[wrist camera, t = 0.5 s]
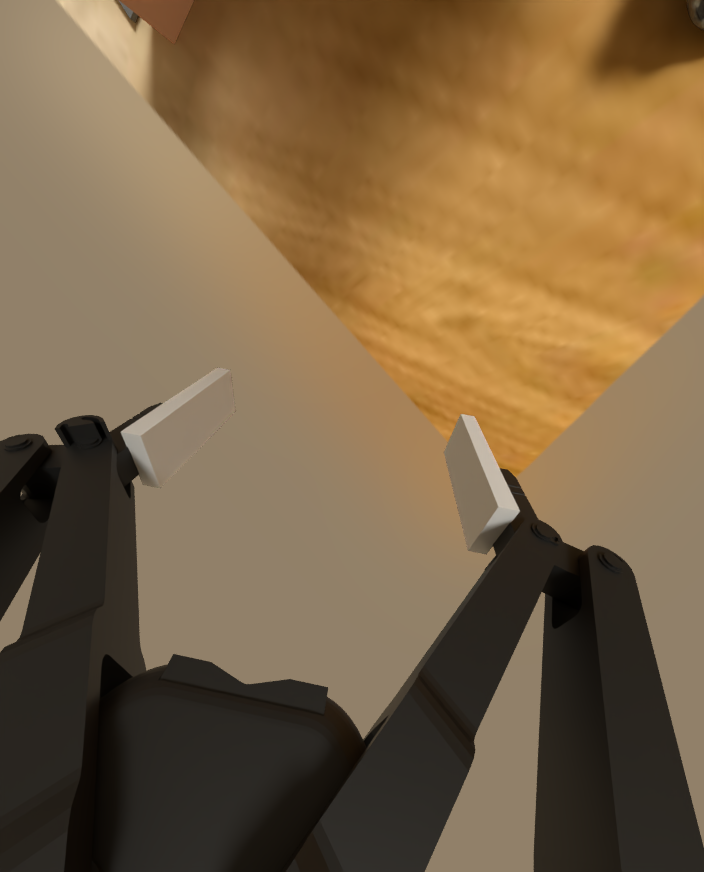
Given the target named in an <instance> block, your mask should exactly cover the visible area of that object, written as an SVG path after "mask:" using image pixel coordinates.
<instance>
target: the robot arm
mask: <svg viewBox="0 0 704 872" xmlns="http://www.w3.org/2000/svg"><path fill="white" fill-rule="evenodd" d="M235 412H236V410H235V402H234V394H233V386H232V377H231V370H229V369H224V368H218V367H217V368H216V369H214V370H213V371H211V372H210V373H208V374H207V375H205V376H204V377H202V378H201V379H199V380H198V381H196V382H195V383H193V384H192V385H190V386H189V387H187V388H186V389H184V390H183V391H181V392H180V393H178V394H177V395H175V396H174V397H172V398H171V399H169V400H168V401H166V402H165V403H159V404H156V405H154V406H151V407H148V408H147V409H145V410H144V411H142V412H141V413H140V414H137V415H136V416H134V417H133V419H130V420H128V421H126V422H125V423H123V424H122V425H120V426H119V427H117V428H115V429H114V430H112V431H111V432H109V431H108V428H107V426H106V424H105V422H104V420H103V418H101V417H99V416H94V415H85V416H79V417H73V418H70V419H67V420H65V421H63V422H61V423H60V424H58V425H57V426H56V428H55V430H56V432H57V434H58V435H59V437H60V438H61V440H62V442H63V444H64V445H48V444H47V442H46V440H45V439H44V437H43V436H41V435H38V434H24V435H16V436H14V437H13V436H12V437H9V438H7V439H5V440H3V441H0V621H1V619H2V617H3V616H4V614H5V612H6V610H7V609H8V607H9V605H10V604H11V602H12V600H13V598H14V597H15V595H16V593H17V592H18V590H19V588H20V586H21V585H22V583H23V581H24V580H25V578H26V576H27V575H28V573H29V571H30V569H31V568H32V566H33V564H34V563H35V561H36V559H37V557H38V556H39V554H40V558H39V562H38V566H37V570H36V575H35V579H34V583H33V587H32V592H31V596H30V600H29V604H28V608H27V613H26V617H25V621H24V625H23V630H22V633H21V635H20V638H19V639H18V640H17V641H16V642H15V643H13V644H11V645H8V646H6V647H4V649H3V650H2V651H1V652H0V872H425V869H426V867H427V865H428V863H429V860H430V858H431V856H432V854H433V851H434V849H435V846H436V844H437V842H438V840H439V838H440V836H441V833H442V831H443V829H444V826H445V824H446V822H447V820H448V817H449V815H450V813H451V811H452V808H453V806H454V804H455V802H456V799H457V797H458V795H459V793H460V790H461V788H462V785H463V783H464V781H465V779H466V777H467V774H468V772H469V769H470V767H471V764H472V762H473V759H474V754H475V745H474V738H475V735H476V732H477V730H478V727H479V725H480V723H481V721H482V719H483V717H484V714H485V712H486V710H487V708H488V706H489V704H490V702H491V700H492V697H493V695H494V693H495V691H496V689H497V687H498V684H499V682H500V680H501V678H502V676H503V674H504V672H505V669H506V667H507V665H508V663H509V661H510V659H511V656H512V654H513V652H514V650H515V648H516V646H517V644H518V642H519V639H520V637H521V635H522V633H523V631H524V629H525V626H526V624H527V622H528V620H529V618H530V616H531V614H532V611H533V609H534V607H535V605H536V603H537V601H538V598H539V596H540V594H541V592H543V593H545V613H544V634H543V657H542V681H541V703H540V727H539V748H538V771H537V793H536V816H535V838H534V872H704V847H703V843H702V839H701V835H700V831H699V827H698V824H697V819H696V815H695V812H694V808H693V804H692V800H691V796H690V792H689V788H688V784H687V780H686V776H685V772H684V768H683V764H682V760H681V757H680V753H679V749H678V745H677V741H676V737H675V733H674V729H673V725H672V721H671V717H670V713H669V709H668V705H667V701H666V697H665V694H664V690H663V686H662V682H661V678H660V674H659V670H658V666H657V662H656V658H655V654H654V650H653V646H652V642H651V638H650V635H649V631H648V627H647V623H646V619H645V616H644V611H643V607H642V603H641V599H640V595H639V591H638V587H637V583H636V580H635V576H634V573H633V572H632V569H631V568H630V567H629V565H628V564H627V563H626V562H625V561H624V560H623V559H622V558H621V557H619V556H618V555H617V554H615V553H614V552H612V551H610V550H609V549H606V548H604V547H601V546H595V545H593V546H591V547H589V548H588V549H586V550H585V551H582V550H580V549H577V548H575V547H573V546H570V545H568V544H566V543H564V542H563V541H562V539H561V537H560V535H559V534H558V533H557V532H556V531H555V530H554V529H553V528H552V527H551V526H549V525H548V524H546V523H544V522H542V521H541V520H538V518H537V516H536V514H535V513H534V510H533V509H532V507H531V505H530V503H529V501H528V499H527V497H526V496H525V494H524V492H523V490H522V489H521V486H520V484H519V482H518V480H517V479H516V477H515V476H514V475H513V474H512V473H511V472H510V471H509V470H506V469H501V468H499V466H498V464H497V462H496V460H495V458H494V456H493V454H492V452H491V450H490V448H489V446H488V444H487V441H486V439H485V437H484V435H483V433H482V431H481V429H480V427H479V425H478V423H477V421H476V419H475V417H474V416H469V415H464V414H461V415H460V417H459V419H458V421H457V424H456V426H455V428H454V431H453V433H452V435H451V437H450V440H449V442H448V444H447V446H446V449H445V451H444V454H445V458H446V463H447V466H448V471H449V474H450V479H451V483H452V487H453V491H454V495H455V499H456V504H457V508H458V511H459V516H460V520H461V524H462V528H463V532H464V536H465V540H466V544H467V548H468V551H472V552H477V553H482V554H487V553H488V552H489V550H490V549H491V548H492V547H494V550H495V553H496V556H495V557H494V558H493V560H492V561H491V562H490V563H489V565H488V566H487V567H486V568H485V571H484V573H483V574H482V575H481V577H480V578H479V579H478V581H477V582H476V584H475V585H474V586H473V588H472V589H471V591H470V592H469V593H468V595H467V596H466V598H465V599H464V601H463V602H462V603H461V605H460V606H459V607H458V609H457V610H456V612H455V613H454V615H453V616H452V617H451V619H450V620H449V622H448V623H447V624H446V626H445V627H444V629H443V630H442V631H441V633H440V634H439V636H438V637H437V638H436V640H435V641H434V643H433V644H432V645H431V647H430V648H429V650H428V651H427V652H426V654H425V655H424V657H423V658H422V659H421V661H420V662H419V664H418V665H417V666H416V668H415V669H414V671H413V672H412V674H411V675H410V676H409V678H408V679H407V681H406V682H405V683H404V685H403V686H402V688H401V689H400V691H399V692H398V693H397V695H396V696H395V697H394V699H393V700H392V702H391V703H390V704H389V706H388V707H387V708H386V709H385V711H384V712H383V713H382V714H381V716H380V717H379V719H378V720H377V721H376V723H375V724H374V725H373V727H372V728H371V730H370V731H369V732H368V734H367V735H366V736H365V738H364V739H362V737H361V735H360V733H359V731H358V729H357V727H356V726H355V724H354V723H353V721H352V720H351V718H350V717H349V716H348V715H347V713H345V711H344V710H343V709H342V708H341V707H340V706H338V704H336V703H335V702H334V701H332V700H331V699H330V698H328V697H327V692H328V687H324V686H319V685H314V684H310V683H305V682H301V681H295V680H291V679H288V680H281V681H273V682H265V683H258V684H244V683H242V682H240V681H238V680H237V679H236V678H234V677H233V676H231V675H230V674H228V673H227V672H225V671H223V670H222V669H221V668H219V667H218V666H216V665H215V664H213V663H212V662H208V661H203V660H199V659H194V658H189V657H185V656H180V655H176V654H173V656H172V658H171V660H170V661H169V663H168V665H163V666H160V667H156V668H153V669H150V670H148V671H146V667H145V662H144V658H143V655H142V652H141V648H140V638H139V637H140V636H139V608H138V583H137V582H138V580H137V554H136V553H137V552H136V524H135V499H134V498H135V496H134V486H133V483H132V480H133V479H134V478H135V477H136V476H138V475H139V476H140V479H141V481H142V484H143V485H147V486H151V487H157V488H161V487H162V486H163V485H164V484H165V483H166V482H167V481H168V480H169V479H170V478H171V477H172V476H173V475H174V474H175V473H176V472H177V471H178V470H179V469H180V468H181V467H182V466H183V465H184V464H185V463H186V462H187V461H188V460H189V459H190V458H191V456H193V455H194V454H195V453H196V452H197V451H198V450H199V449H200V448H201V446H202V445H203V444H204V443H205V442H206V441H207V440H208V439H209V438H210V437H211V436H212V435H213V434H214V433H215V432H216V431H217V430H218V429H219V428H220V427H221V426H222V425H223V424H224V423H225V422H226V421H227V420H228V419H229V418H230V417H231V416H232V415H233V414H234V413H235ZM21 492H22V493H23V494H22V495H21ZM20 495H21V497H20ZM40 552H41V553H40Z"/></svg>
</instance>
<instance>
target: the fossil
mask: <svg viewBox="0 0 704 872" xmlns="http://www.w3.org/2000/svg"><path fill="white" fill-rule="evenodd" d="M687 10H688V13H689V16H690V18H691V20H692V22H693V24H695V25H696V26H697V27H698V28H699V29H700V30H704V0H687Z"/></svg>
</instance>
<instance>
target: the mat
mask: <svg viewBox="0 0 704 872" xmlns="http://www.w3.org/2000/svg"><path fill="white" fill-rule="evenodd" d="M118 1H119V0H118ZM119 2H120V1H119ZM120 4H121V5H122V7H123V8H124V10H125V11H126V13H127V15H128V16H129V18H130V19H131V20H132V21H134V22H136V20H137V17H138V15H137V14H136V13H134V12H133V11H132V10H131V9H129V8H128V7H127V6H126V5H124V4H123V3H122V2H120Z"/></svg>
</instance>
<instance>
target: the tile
mask: <svg viewBox="0 0 704 872" xmlns="http://www.w3.org/2000/svg"><path fill="white" fill-rule="evenodd" d="M119 1H120V2H122V3H123V4H124V5H126V6H127V7H128V8H129V9H131V10H132V11H133V12H134V13H136V14H137V15H138V16H139V17H141V18H142V19H143V20H144V21H146V22H147V23H148V24H149V25H151V26H152V27H153V28H154V29H156V30H157V31H158V32H159V33H161V34H162V35H163V36H164V37H166V38H167V39H168V40H169V41H171V42H172V43H173V44H175V42H176V40H177V37H178V35H179V33H180V31H181V28H182V26H183V24H184V22H185V19H186V17H187V15H188V13H189V11H190V8H191V6H192V4H193V2H194V0H119Z"/></svg>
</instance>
